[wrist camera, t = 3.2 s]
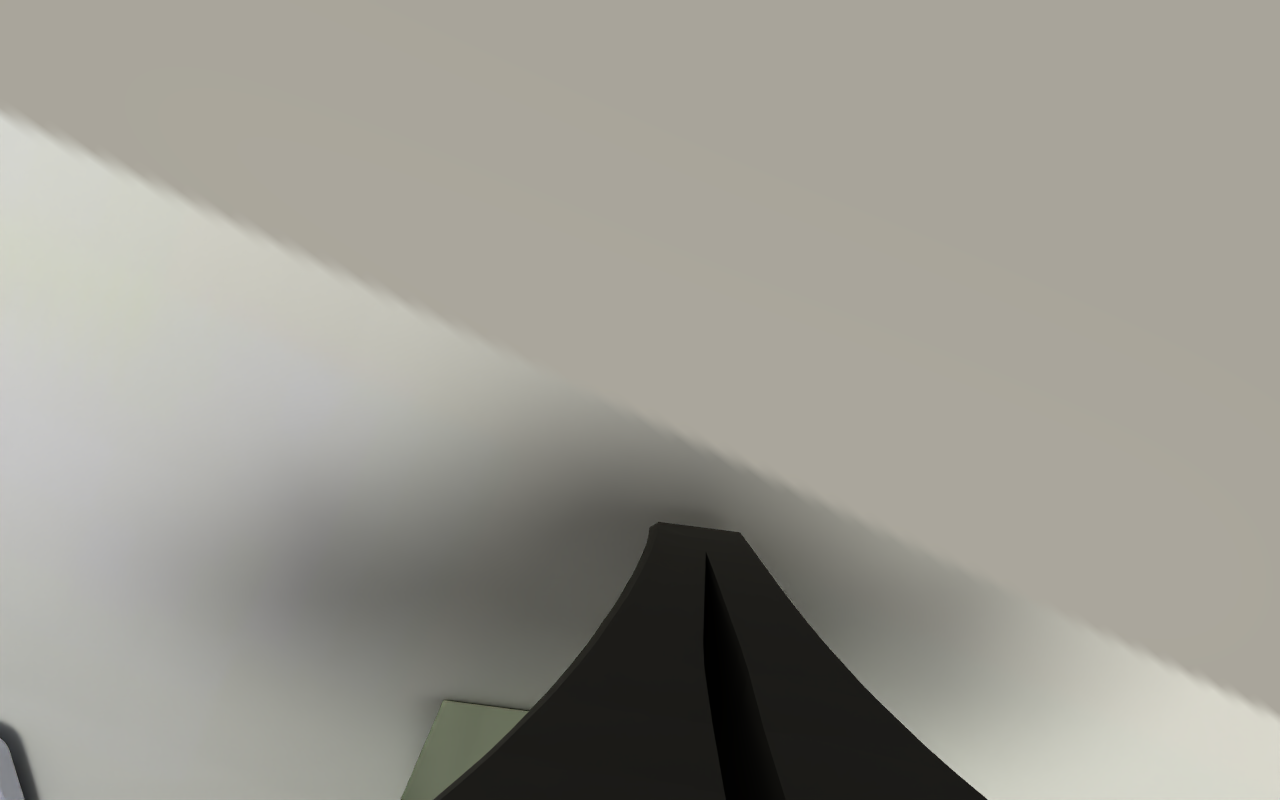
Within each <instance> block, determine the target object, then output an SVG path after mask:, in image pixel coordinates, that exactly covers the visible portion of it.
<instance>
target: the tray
mask: <svg viewBox="0 0 1280 800" xmlns="http://www.w3.org/2000/svg"><path fill="white" fill-rule="evenodd" d="M528 712H529V711H522V710H515V709H507V708H499V707H492V706H484V705H476V704H469V703H461V702H453V701H446V700H443V703H442V705H441V707H440V710H439V712H438V714H437V716H436V719H435V721H434V723H433V726H432V728H431V730H430V733H429V735H428V737H427V740H426V742H425V744H424V747H423V749H422V751H421V754H420V756H419V758H418V761H417V763H416V765H415V768H414V770H413V772H412V775H411V777H410V779H409V782H408V784H407V786H406V789H405V791H404V793H403V795H402V798H401V800H433V799H435V798H436V797H437V796H438V795H439V794H440V793H441V792H443V791H444V790H445V789H446V788H447V787H448V786H450V785H451V784H452V783H453V782H454V781H455V780H457V779H458V778H459V777H460V776H461V775H462V774H464V773H465V772H466V771H467V770H468V769H469V768H471V767H472V766H473V765H474V764H475V763H476V762H478V761H479V760H480V759H481V758H482V757H483V756H484V755H485V754H486V753H487V752H489V751H490V750H491V749H492V748H493V747H494V746H495V745H496V744H497V743H498V742H499V741H500V740H501V739H502V738H503V737H504V736H505V735H506V734H507V733H508V732H509V731H510V730H511V729H512V728H513V727H514V726H515V725H516V724H517V723H518V722H519V721H520V720H521V719H522V718H523V717H524V716H525V715H526V714H527V713H528Z"/></svg>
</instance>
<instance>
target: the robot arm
mask: <svg viewBox="0 0 1280 800" xmlns="http://www.w3.org/2000/svg"><path fill="white" fill-rule="evenodd" d="M0 800H25V799H24V796H23V793H22V789H21V786H20V783H19V780H18V776H17V773H16V770H15V767H14V763H13V760H12V757H11V754H10V750H9V748H8V746H7V745H6V743H5V742H4V741H3V740H2V739H1V738H0ZM433 800H987V799H986V798H985V797H984V796H983V795H981V794H980V793H979V792H978V791H977V790H975V789H974V788H973V787H972V786H971V785H969V784H968V783H967V782H966V781H965V780H963V779H962V778H961V777H960V776H959V775H957V774H956V773H955V772H954V771H953V770H952V769H951V768H949V767H948V766H947V765H946V764H945V763H944V762H943V761H942V760H940V759H939V758H938V757H937V756H936V755H935V754H934V753H932V752H931V751H930V750H929V749H928V748H927V747H926V746H925V745H924V744H923V743H922V742H921V741H919V740H918V739H917V738H916V737H915V736H914V735H913V734H912V733H911V732H910V731H909V730H908V729H907V728H906V727H905V726H904V725H903V724H902V723H901V722H900V721H899V720H897V719H896V718H895V717H894V716H893V715H892V714H891V713H890V712H889V711H888V710H887V709H886V708H885V707H884V706H883V705H882V704H881V703H880V702H879V701H878V700H877V699H876V698H875V697H874V696H873V695H872V694H871V693H870V692H869V691H868V690H867V689H866V688H865V687H864V686H863V685H862V684H861V683H860V682H859V681H858V680H857V679H856V677H855V676H854V675H853V674H852V673H851V672H850V671H849V670H848V669H847V667H846V666H845V665H844V664H843V663H842V662H841V661H840V660H839V659H838V657H837V656H836V655H835V654H834V653H833V652H832V651H831V650H830V649H829V648H828V646H827V645H826V644H825V643H824V642H823V641H822V639H821V638H820V637H819V636H818V635H817V634H816V632H815V631H814V630H813V629H812V628H811V626H810V625H809V624H808V623H807V621H806V620H805V619H804V618H803V616H802V615H801V614H800V613H799V611H798V610H797V609H796V608H795V606H794V605H793V604H792V603H791V601H790V600H789V599H788V597H787V596H786V595H785V593H784V592H783V591H782V589H781V588H780V587H779V585H778V584H777V583H776V581H775V580H774V579H773V577H772V576H771V574H770V573H769V572H768V570H767V569H766V568H765V566H764V565H763V563H762V562H761V561H760V559H759V558H758V556H757V555H756V554H755V552H754V551H753V550H752V548H751V547H750V545H749V544H748V543H747V541H746V540H745V539H744V537H743V536H742V535H741V533H739V532H731V531H724V530H716V529H708V528H701V527H693V526H685V525H677V524H670V523H662V522H658V523H656V524H655V525H653V526H652V527H650V530H649V536H648V541H647V544H646V547H645V550H644V552H643V554H642V557H641V559H640V561H639V563H638V565H637V567H636V569H635V571H634V573H633V575H632V576H631V578H630V580H629V582H628V583H627V585H626V587H625V589H624V590H623V592H622V594H621V595H620V597H619V599H618V601H617V602H616V604H615V605H614V607H613V608H612V610H611V611H610V613H609V614H608V615H607V617H606V618H605V620H604V621H603V623H602V624H601V625H600V627H599V628H598V630H597V631H596V633H595V634H594V635H593V637H592V638H591V640H590V641H589V642H588V644H587V645H586V646H585V648H584V649H583V650H582V651H581V653H580V654H579V655H578V657H577V658H576V659H575V660H574V662H573V663H572V664H571V665H570V666H569V668H568V669H567V670H566V671H565V672H564V674H563V675H562V676H561V677H560V678H559V679H558V680H557V682H556V683H555V684H554V685H553V686H552V687H551V688H550V690H549V691H548V692H547V693H546V694H545V695H544V696H543V697H542V698H541V699H540V700H539V701H538V702H537V704H536V705H535V706H534V707H533V708H532V709H531V710H530V711H529V712H528V713H527V714H526V715H525V716H524V717H523V718H522V719H521V720H520V721H519V722H518V723H517V724H516V725H515V726H514V727H513V728H512V729H511V730H510V731H509V732H508V733H507V734H506V735H505V736H504V737H503V738H502V739H501V740H500V741H499V742H498V743H497V744H496V745H495V746H494V747H493V748H492V749H491V750H490V751H489V752H487V753H486V754H485V755H484V756H483V757H482V758H481V759H480V760H479V761H478V762H476V763H475V764H474V765H473V766H472V767H471V768H469V769H468V770H467V771H466V772H465V773H464V774H462V775H461V776H460V777H459V778H458V779H457V780H455V781H454V782H453V783H452V784H451V785H450V786H448V787H447V788H446V789H445V790H444V791H443V792H441V793H440V794H439V795H438V796H437V797H436V798H435V799H433Z"/></svg>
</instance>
